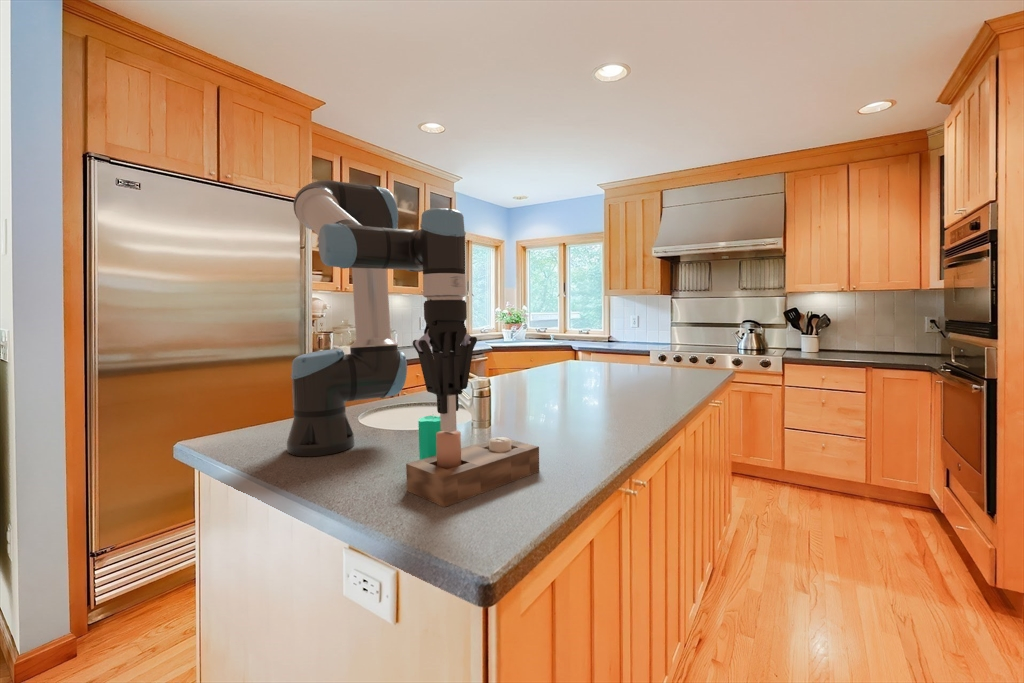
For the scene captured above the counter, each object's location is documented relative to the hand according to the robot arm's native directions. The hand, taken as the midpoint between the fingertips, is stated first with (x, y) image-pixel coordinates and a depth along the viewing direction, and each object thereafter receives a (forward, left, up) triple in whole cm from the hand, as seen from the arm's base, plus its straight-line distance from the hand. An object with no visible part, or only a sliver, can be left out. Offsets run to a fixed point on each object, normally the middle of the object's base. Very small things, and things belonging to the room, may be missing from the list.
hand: (448, 430), depth 87 cm
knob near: (0, 0, -7) cm, 7 cm away
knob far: (0, +13, -11) cm, 17 cm away
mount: (0, +7, -11) cm, 13 cm away
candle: (-12, +6, -11) cm, 17 cm away
